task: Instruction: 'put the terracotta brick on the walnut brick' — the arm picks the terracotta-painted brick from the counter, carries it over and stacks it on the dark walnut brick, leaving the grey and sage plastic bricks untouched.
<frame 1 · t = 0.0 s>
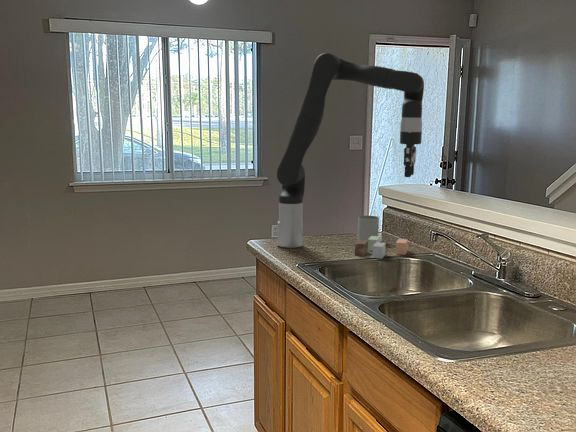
hand: (409, 176, 201), 29 cm above the worktop, tool pointing down, fingers open, 8 cm apart
grey brick: (378, 256, 204), on the worktop
sage brick: (373, 249, 216), on the worktop
walnut brick: (361, 253, 208), on the worktop
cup: (367, 241, 231), on the worktop
terracotta brick: (401, 252, 210), on the worktop
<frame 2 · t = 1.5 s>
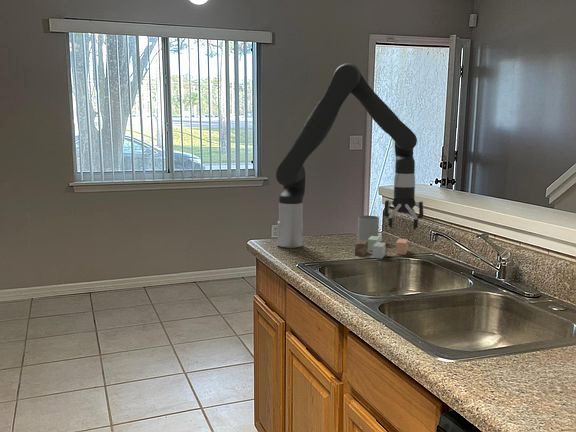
hand: (403, 228, 209), 9 cm above the worktop, tool pointing down, fingers open, 8 cm apart
nothing on the worktop moved.
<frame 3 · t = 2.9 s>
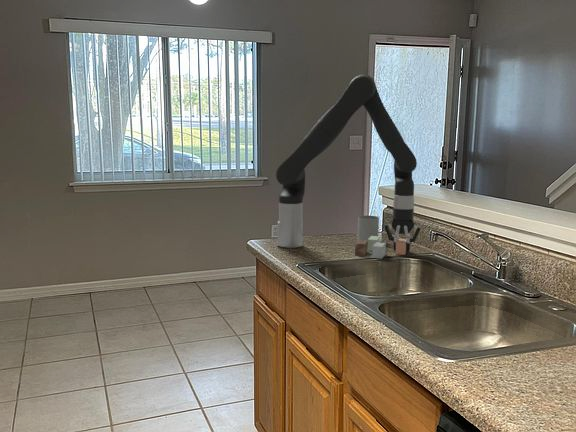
hand: (401, 251, 210), 0 cm above the worktop, tool pointing down, fingers closed on terracotta brick, 3 cm apart
terracotta brick: (401, 252, 210), on the worktop, touching gripper
everything else where it was.
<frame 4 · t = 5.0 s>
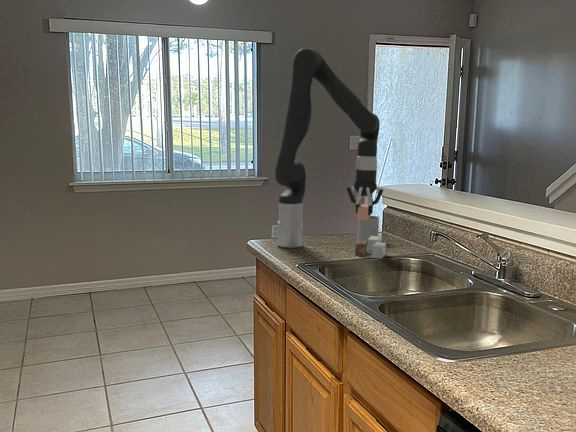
hand: (363, 214, 207), 15 cm above the worktop, tool pointing down, fingers closed on terracotta brick, 3 cm apart
terracotta brick: (363, 218, 207), point 13 cm above the worktop, touching gripper
everything else where it was.
when the fingers open (6 cm above the worktop, at t = 7.2 s): terracotta brick stays where it is, resting on walnut brick.
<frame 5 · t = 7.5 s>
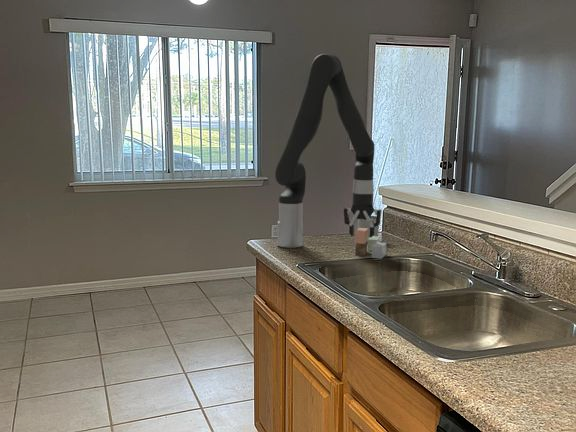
hand: (361, 236, 207), 6 cm above the worktop, tool pointing down, fingers open, 6 cm apart
walnut brick: (361, 253, 208), on the worktop, touching terracotta brick
terracotta brick: (361, 241, 208), point 4 cm above the worktop, touching walnut brick
everything else where it was.
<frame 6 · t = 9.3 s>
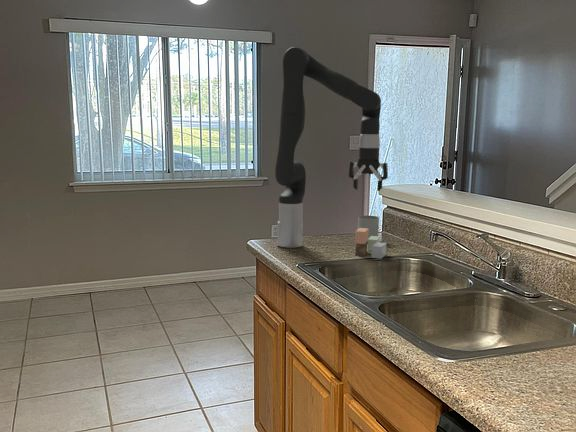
hand: (367, 190, 209), 23 cm above the worktop, tool pointing down, fingers open, 8 cm apart
nothing on the worktop moved.
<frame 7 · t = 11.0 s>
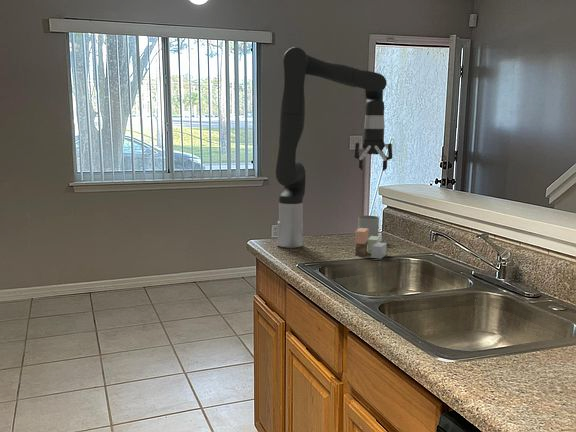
hand: (372, 170, 215), 30 cm above the worktop, tool pointing down, fingers open, 8 cm apart
nothing on the worktop moved.
at the end: terracotta brick 0.0 cm off-centre on the walnut brick, point 4.5 cm above the walnut brick's base; grey brick moved 0.2 cm from its start; sage brick moved 0.2 cm from its start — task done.
